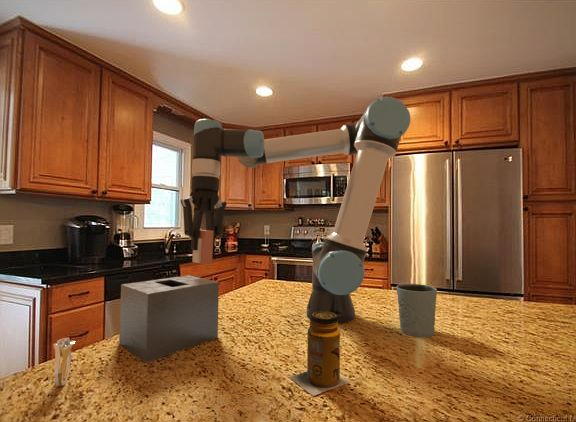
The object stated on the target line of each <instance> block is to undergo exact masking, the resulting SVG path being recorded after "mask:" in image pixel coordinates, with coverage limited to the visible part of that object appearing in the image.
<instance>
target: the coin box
mask: <svg viewBox="0 0 576 422" xmlns="http://www.w3.org/2000/svg"><path fill="white" fill-rule="evenodd" d="M219 285H220V282H219V281H215V280H212V279H208V278H203V277H197V276H193V275H188V274H187V275H183V276H174V277H168V278H161V279H151V280H146V281H145V280H144V281H139V282H137V281H136V282H131V283H122V284H120V304H119V305H120V307H119V311H120V312H119V313H120V314H119V336H118V337H119V338H118V339H119V340H118V344H119V345H120V346H121V347H123V348H124V349H126V350H128V352H130V353H131V354H133V355H134V356H136V357H138V358H139V359H140V360H142V361H144V362H145V363H147V362H151V361H153V360H156V359H159V358H162V357H167V356H169V355H172V354H174V353H178V352H180V351H183V349H184V350H186V349H189V348H192V347H196V346H199V345H200V344H201V345H202V344H204V343H207V342H211V341H213V340H216V339H219V301H220V298H219V295H220V294H219V293H220V292H219V291H220V289H219V288H220V286H219Z"/></svg>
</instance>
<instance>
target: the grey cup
mask: <svg viewBox="0 0 576 422" xmlns="http://www.w3.org/2000/svg"><path fill="white" fill-rule="evenodd" d="M437 293H438V289H437V288H436V287H435V286H432V285H426V284H419V283H401V284H397V285H396V295H397V303H398V314H399V324H400V325H399V326H400V327H399V328H400V329H399V330H400V331H401V332H402V333H403V334H406V335H408V336H412V337H416V338H430V337H433V336H434V335H435V330H436V329H435V324H436V308H437V306H436V305H437V295H438V294H437Z"/></svg>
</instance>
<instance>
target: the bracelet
mask: <svg viewBox="0 0 576 422" xmlns="http://www.w3.org/2000/svg"><path fill="white" fill-rule="evenodd" d="M75 342H76V341H75V340H70V337H63V338H60V339H58V340H57V341H56V343H53V348H54V355H55V356H54V357H55V358H54V384H55V385H56V387H61V386H65V385H67V380H68V377H69V373H70V368H71V360H72V347H73V346H74V344H75ZM61 355H62V361H61Z"/></svg>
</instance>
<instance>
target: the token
mask: <svg viewBox="0 0 576 422" xmlns="http://www.w3.org/2000/svg"><path fill="white" fill-rule="evenodd" d="M213 232H214V231H211V230H206V229H200V235H199V238H201V239H202V244H201V263H198V264H200V265H203V266H205V265H212V264H213V250H214V248H213ZM191 256H192V258H191V259H192V261H191V262H192V263H196V262H193V253H192V255H191ZM196 264H197V263H196Z"/></svg>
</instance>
